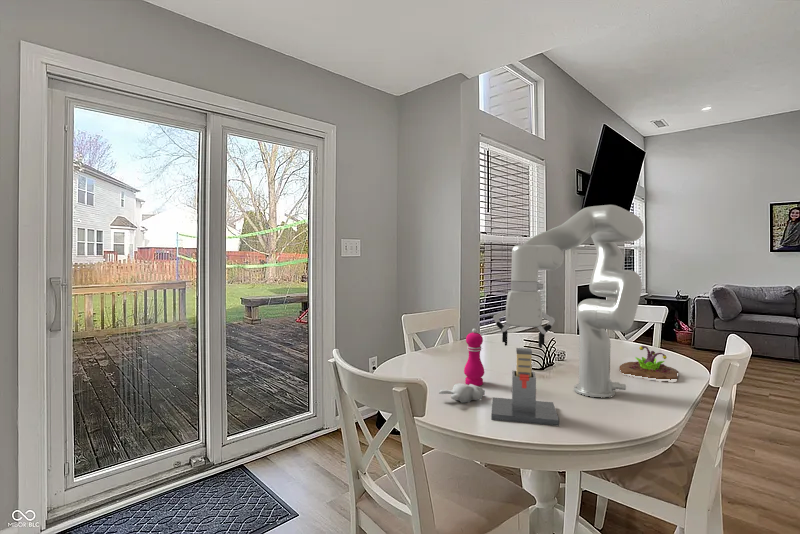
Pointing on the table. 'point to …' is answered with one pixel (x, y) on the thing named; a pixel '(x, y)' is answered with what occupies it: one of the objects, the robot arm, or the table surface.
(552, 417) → the sleeve
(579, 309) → the robot arm
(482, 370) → the pepper mill
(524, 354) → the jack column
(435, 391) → the table surface
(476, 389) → the grey toy animal
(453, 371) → the table surface
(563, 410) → the table surface
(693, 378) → the table surface
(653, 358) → the plant
